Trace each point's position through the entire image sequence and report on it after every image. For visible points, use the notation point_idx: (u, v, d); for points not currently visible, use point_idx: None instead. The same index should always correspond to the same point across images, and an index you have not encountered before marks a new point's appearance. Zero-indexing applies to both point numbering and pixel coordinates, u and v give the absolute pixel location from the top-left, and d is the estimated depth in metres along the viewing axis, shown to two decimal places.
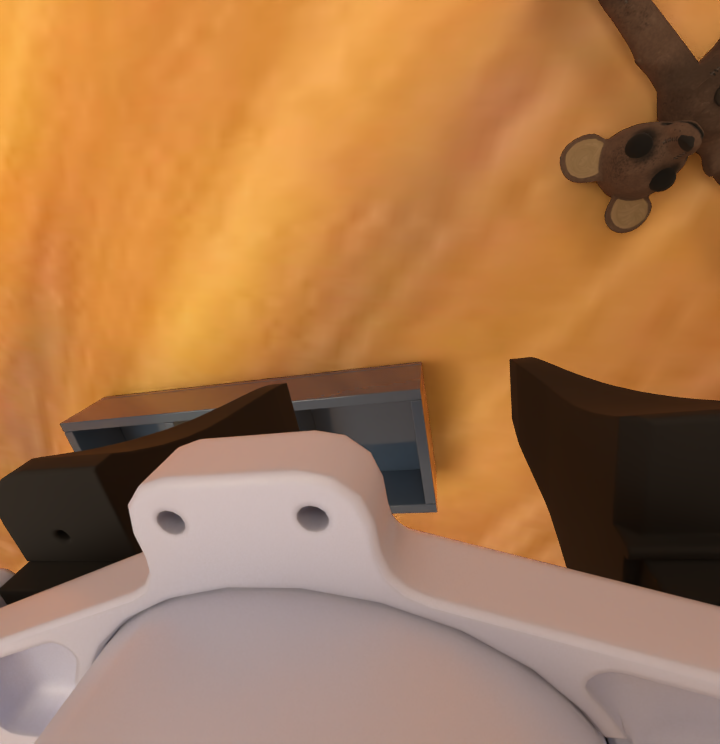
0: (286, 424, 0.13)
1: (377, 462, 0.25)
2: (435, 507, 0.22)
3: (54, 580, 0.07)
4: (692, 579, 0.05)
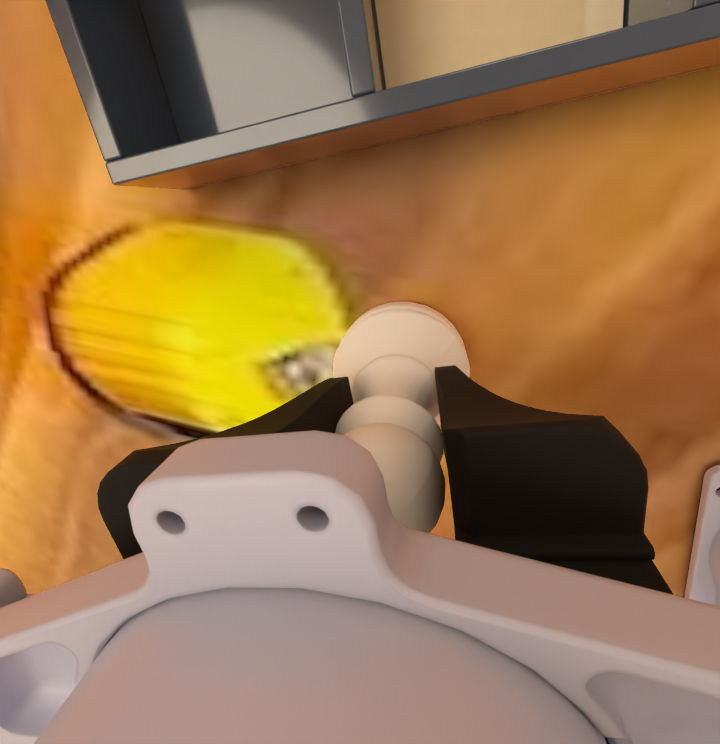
0: None
1: None
2: None
3: None
4: None
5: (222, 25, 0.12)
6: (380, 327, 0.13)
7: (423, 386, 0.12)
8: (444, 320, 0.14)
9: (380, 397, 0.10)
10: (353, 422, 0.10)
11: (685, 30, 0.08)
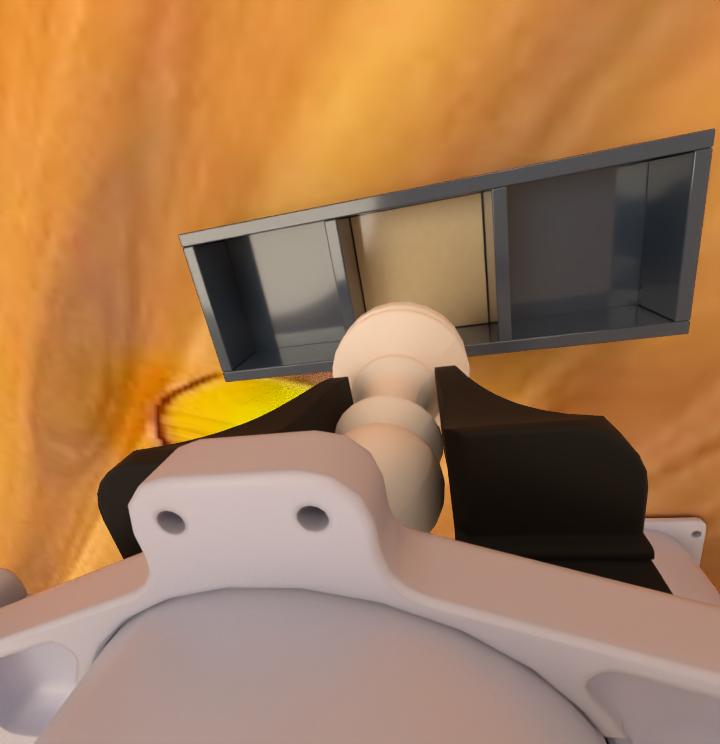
0: None
1: (572, 299, 0.20)
2: (688, 326, 0.17)
3: None
4: None
5: (280, 288, 0.22)
6: (380, 327, 0.13)
7: (423, 386, 0.12)
8: (443, 320, 0.14)
9: (380, 397, 0.10)
10: (352, 423, 0.10)
11: (496, 349, 0.18)
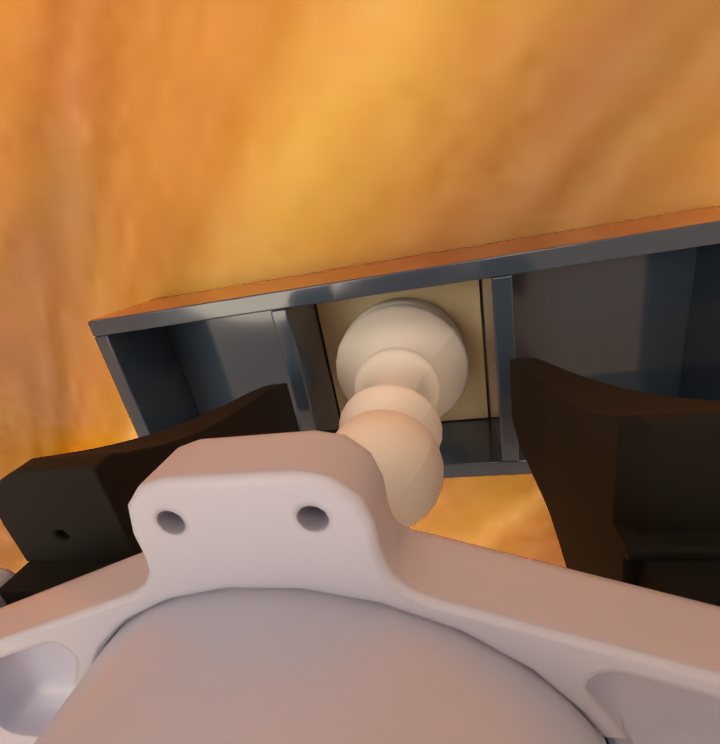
0: (286, 424, 0.13)
1: None
2: None
3: (54, 580, 0.07)
4: (692, 579, 0.05)
5: (232, 369, 0.18)
6: (382, 322, 0.14)
7: (423, 377, 0.13)
8: (443, 315, 0.15)
9: (382, 386, 0.10)
10: (356, 410, 0.10)
11: (499, 470, 0.14)
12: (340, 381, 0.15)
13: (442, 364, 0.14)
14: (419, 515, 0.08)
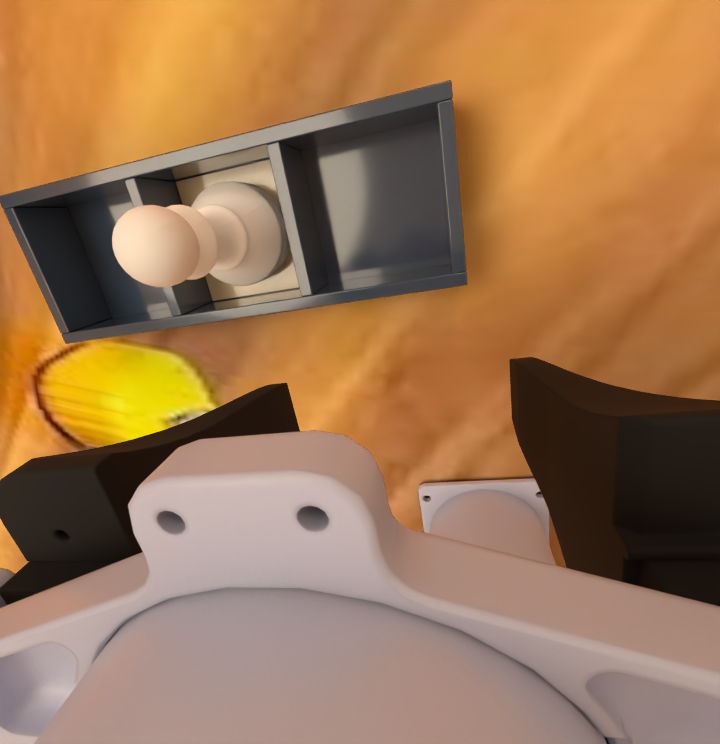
0: (286, 424, 0.13)
1: (389, 260, 0.21)
2: (465, 277, 0.17)
3: (54, 580, 0.07)
4: (692, 579, 0.05)
5: None
6: (211, 192, 0.19)
7: (228, 223, 0.18)
8: (263, 192, 0.20)
9: (171, 205, 0.15)
10: None
11: (300, 304, 0.19)
12: None
13: (253, 222, 0.19)
14: (165, 261, 0.13)
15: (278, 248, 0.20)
